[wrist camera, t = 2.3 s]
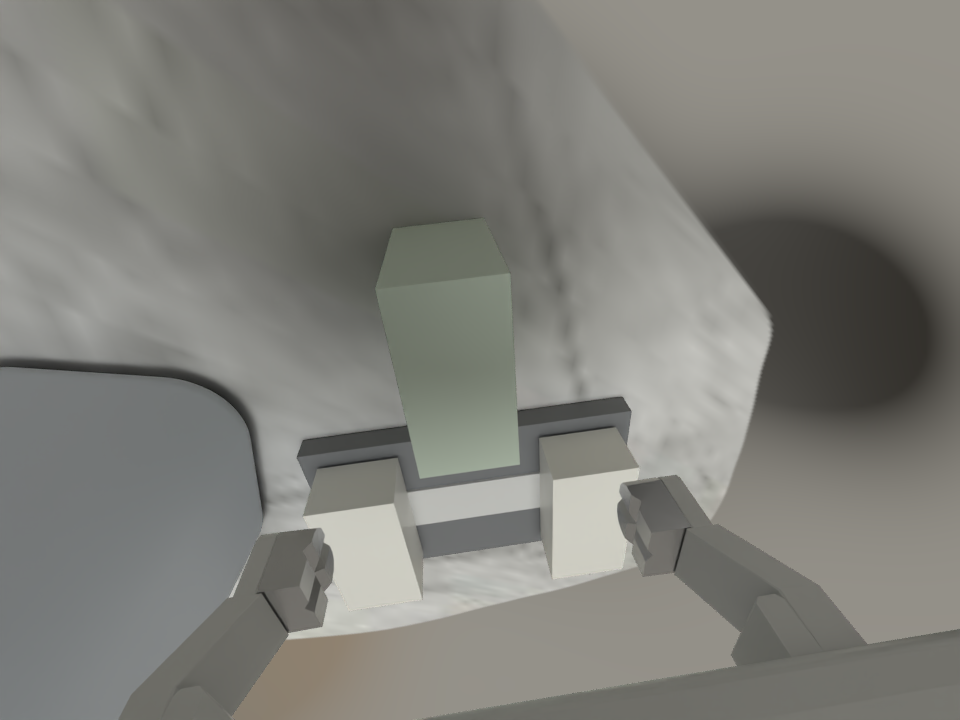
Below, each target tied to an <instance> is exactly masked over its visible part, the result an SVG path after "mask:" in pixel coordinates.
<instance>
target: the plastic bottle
mask: <svg viewBox="0 0 960 720" xmlns="http://www.w3.org/2000/svg"><path fill="white" fill-rule="evenodd" d="M262 522H263V513H262V507H261V501H260V494H259V488H258V482H257V476H256V470H255V463H254V457H253V451H252V445H251V439H250V434H249V431H248V428H247V426H246V424H245V422H244V420H243V419H242V417H241V416H240V414H239V413H238V412H237V411H236V410H235V408H234V407H233V406H232V405H231V404H229V403H228V402H227V401H226V400H225V399H223V398H222V397H221V396H219V395H217V394H216V393H214V392H212V391H210V390H209V389H206V388H204V387H202V386H200V385H197V384H194V383H191V382H188V381H184V380H180V379H175V378H167V377H154V376H139V375H124V374H109V373H94V372H79V371H63V370H48V369H33V368H18V367H0V720H118V719H119V717H120V715H121V713H122V711H123V709H124V707H125V705H126V704H127V702H128V700H129V698H130V696H131V694H132V693H133V692H134V691H135V690H136V689H137V688H138V687H139V686H140V685H141V684H142V683H143V682H144V681H145V680H146V679H147V678H148V677H149V676H150V675H151V674H152V673H153V672H154V671H155V670H156V669H157V668H158V667H159V666H160V665H161V664H162V663H163V662H164V661H165V660H166V659H167V658H168V657H169V656H170V655H171V654H172V653H173V652H174V651H175V650H176V649H177V648H178V647H179V646H180V645H181V644H182V643H183V642H184V641H185V640H186V639H187V638H188V637H189V636H190V635H191V634H192V633H193V632H194V631H195V630H196V629H197V628H198V627H199V626H200V625H201V624H202V623H203V622H204V621H205V620H206V619H207V618H208V617H209V616H210V615H211V614H212V613H213V612H214V611H215V610H216V609H217V608H218V607H219V606H220V605H221V604H222V603H223V602H224V601H225V600H226V599H227V598H229V596H230V594H231V592H232V589H233V587H234V585H235V583H236V581H237V579H238V577H239V575H240V573H241V571H242V569H243V567H244V565H245V563H246V561H247V558H248V556H249V554H250V552H251V550H252V548H253V546H254V544H255V542H256V540H257V538H258V536H259V533H260V531H261V528H262Z"/></svg>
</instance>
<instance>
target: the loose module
mask: <svg viewBox="0 0 960 720" xmlns="http://www.w3.org/2000/svg"><path fill="white" fill-rule="evenodd" d="M375 292H376V296H377V300H378V304H379V309H380V313H381V317H382V321H383V325H384V330H385V334H386V338H387V342H388V346H389V351H390V355H391V359H392V363H393V367H394V372H395V376H396V380H397V384H398V388H399V393H400V397H401V401H402V405H403V410H404V414H405V418H406V422H407V426H408V431H409V435H410V439H411V443H412V447H413V452H414V456H415V460H416V464H417V468H418V473H419V477H420V479H422V478H429V477H436V476H443V475H450V474H457V473H464V472H471V471H478V470H485V469H492V468H499V467H506V466H513V465H520V456H519V436H518V416H517V396H516V376H515V356H514V336H513V316H512V296H511V277H510V271H509V269H508V267H507V265H506V263H505V261H504V259H503V257H502V255H501V253H500V251H499V249H498V247H497V245H496V243H495V240H494V238H493V236H492V234H491V232H490V230H489V228H488V226H487V224H486V222H485V220H484V218H478V219H469V220H461V221H452V222H443V223H435V224H426V225H418V226H409V227H400V228H393V229H392V233H391V236H390V240H389V243H388V247H387V250H386V253H385V257H384V260H383V264H382V267H381V271H380V274H379V277H378V281H377V284H376V288H375Z"/></svg>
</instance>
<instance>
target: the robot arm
mask: <svg viewBox="0 0 960 720" xmlns="http://www.w3.org/2000/svg"><path fill="white" fill-rule="evenodd" d="M619 493H620V495H621V497H622V499H621V500H620V501H619V502H618V505H617V515H618V522H619V525H620V528H621V531H622V533H623V535H624V538H625V539H627V540H628V541H629V542H631V543H632V544H633V548H632V555H633V557H634V559H635V562H636V564H637V566H638V568H639V570H640V572H641V574H642V576H643V577H644V576H652V575H659V574H668V573H675V575H676V576H677V577H678V578H679V579H680V580H681V581H683V582H684V583H685V584H686V585H687V586H688V587H689V588H691V589H692V590H693V591H694V592H695V593H696V594H697V595H699V596H700V597H701V598H702V599H703V600H704V601H705V602H707V603H708V604H709V605H710V606H711V607H712V608H713V609H715V610H716V611H717V612H718V613H719V614H720V615H722V616H723V617H724V618H725V619H726V620H727V621H728V622H729V623H731V624H732V625H733V626H734V627H735V628H736V629H737V630H739V631H740V632H741V633H740V635H739V637H738V640H737V642H736V644H735V646H734V648H733V651H732V654H731V656H732V658H733V659H734V661H735V663H736V665H737V666H735V667H729V668H723V669H717V670H711V671H705V672H699V673H693V674H686V675H680V676H675V677H669V678H662V679H656V680H650V681H644V682H638V683H632V684H626V685H620V686H614V687H609V688H602V689H596V690H591V691H584V692H578V693H572V694H566V695H561V696H554V697H548V698H542V699H537V700H530V701H524V702H518V703H512V704H506V705H500V706H494V707H488V708H482V709H477V710H471V711H464V712H458V713H452V714H446V715H440V716H434V717H428V718H422V719H417V720H960V629H957V630H951V631H945V632H939V633H933V634H927V635H921V636H915V637H909V638H903V639H897V640H891V641H885V642H880V643H873V644H867V643H866V642H865V641H864V639H863V638H862V637H861V636H860V634H859V633H858V632H857V631H856V630H855V628H854V627H853V626H852V625H851V624H850V622H849V621H848V620H847V619H846V617H844V615H843V614H842V613H841V611H840V610H839V609H838V608H837V606H836V605H835V604H834V603H833V602H832V600H831V599H830V598H829V597H828V595H827V594H826V593H825V592H824V591H823V589H822V588H821V587H820V586H819V585H818V584H816V583H814V582H813V581H811V580H809V579H808V578H806V577H805V576H803V575H801V574H800V573H798V572H796V571H795V570H793V569H791V568H789V567H788V566H786V565H785V564H783V563H781V562H780V561H778V560H776V559H775V558H773V557H772V556H770V555H768V554H767V553H765V552H763V551H762V550H760V549H758V548H756V547H755V546H754V545H752V544H750V543H749V542H747V541H745V540H744V539H742V538H740V537H739V536H737V535H735V534H734V533H732V532H730V531H729V530H727V529H726V528H724V527H722V526H720V525H719V524H715V525H713V524H712V523H711V521H710V520H709V519H708V517H707V516H706V514H705V513H704V511H703V510H702V508H701V507H700V506H699V504H698V503H697V501H696V500H695V498H694V497H693V496H692V494H691V493H690V491H689V490H688V488H687V487H686V485H685V484H684V483H683V481H682V480H681V478H680V477H678V476H677V475H671V476H665V477H658V478H656V477H655V478H649V479H643V480H636V481H630V482H624V483H622V484H621V485H620V489H619ZM324 538H325V534H324V532H323V530H322V528H313V529H305V530H296V531H288V532H280V533H272V534H265V535H261V536H260V537H259V538H258V539H257V541H256V542H255V545H254V547H253V549H252V552H251V554H250V557H249V559H248V562H247V564H246V567H245V569H244V571H243V574H242V576H241V579H240V581H239V584H238V586H237V589H236V591H235V593H234V596H233V597H232V598H227V599H226V600H225V601H224V602H223V603H222V604H221V605H220V606H219V607H218V608H217V609H216V610H215V611H214V612H213V613H212V614H211V615H210V616H209V617H208V618H207V619H206V620H205V621H204V622H203V623H202V624H201V625H200V626H199V627H198V628H197V629H196V630H195V631H194V632H193V633H192V634H191V635H190V636H189V637H188V638H187V639H186V640H185V641H184V642H183V643H182V644H181V645H180V646H179V647H178V648H177V649H176V650H175V651H174V652H173V653H172V654H171V655H170V656H169V657H168V658H167V659H166V660H165V661H164V662H163V663H162V664H161V665H160V666H159V667H158V668H157V669H156V670H155V671H154V672H153V673H152V674H151V675H150V676H149V677H148V678H147V679H146V680H145V681H144V682H143V683H142V684H141V685H140V686H139V687H138V688H137V689H136V690H135V691H134V692H133V693H132V694H131V696H130V698H129V700H128V702H127V704H126V705H125V707H124V709H123V711H122V713H121V715H120V717H119V719H118V720H235V719H234V718H233V717H232V715H233V714H234V712H235V711H236V709H237V708H238V707H239V705H240V704H241V702H242V701H243V700H244V698H245V697H246V695H247V694H248V692H249V691H250V690H251V688H252V687H253V685H254V684H255V682H256V681H257V679H258V678H259V677H260V675H261V674H262V672H263V671H264V669H265V668H266V667H267V665H268V664H269V662H270V661H271V659H272V658H273V657H274V655H275V654H276V652H277V651H278V650H279V648H280V647H281V645H282V644H283V642H284V641H285V640H286V638H287V637H288V633H290V632H296V631H301V630H307V629H312V628H317V627H322V626H323V621H324V616H325V612H326V607H327V602H328V599H327V597H326V595H325V593H324V591H325V590H326V589H327V588H328V586H329V585H330V584H331V583H332V578H333V573H334V558H333V552H332V550H331V547H330V546H329V545H327V544H326V543H324Z"/></svg>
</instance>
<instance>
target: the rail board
mask: <svg viewBox="0 0 960 720" xmlns="http://www.w3.org/2000/svg"><path fill="white" fill-rule="evenodd" d="M517 416H518V436H519V456H520V465H513V466H506V467H499V468H492V469H485V470H478V471H471V472H464V473H457V474H450V475H443V476H436V477H429V478H422V479H420V477H419V473H418V468H417V464H416V460H415V456H414V452H413V447H412V443H411V439H410V435H409V431H408V426H405V427H398V428H391V429H383V430H376V431H369V432H361V433H354V434H347V435H340V436H332V437H325V438H318V439H310V440H303V442H302V444H301V447H300V450H299V452H298V455H297V459H298V461H299V464H300V466H301V468H302V470H303V473H304V475H305V477H306V479H307V481H308V484H309V486H310V488H311V491H310V494H309V498H308V501H307V504H306V507H305V511H304V514H303V518H304V520H305V522H306V524H307V526H308V528H309V529H313V528H322V530H323V532H324V534H325V538H324V543H326V544H327V545H329V546H330V547H331V550H332V552H333V558H334V573H333V579H334V581H335V583H336V585H337V587H338V589H339V592H340V594H341V596H342V598H343V600H344V602H345V604H346V606H347V608H348V610H349V611H354V610H360V609H367V608H373V607H380V606H386V605H392V604H399V603H405V602H412V601H418V600H423V558H430V557H436V556H443V555H450V554H456V553H463V552H469V551H476V550H483V549H489V548H496V547H503V546H509V545H516V544H523V543H529V542H536V541H542V542H543V546H544V550H545V554H546V558H547V562H548V565H549V569H550V573H551V577H552V580H553V579H560V578H566V577H573V576H579V575H586V574H592V573H599V572H605V571H611V570H618V569H623V564H624V558H625V552H626V546H627V539H625V538H624V535H623V533H622V531H621V528H620V525H619V522H618V515H617V505H618V502H619V501H620V500H621V499H622V497H621V495H620V493H619V489H620V485H621V484H622V483H624V482H630V481H636V480H638V474H639V466H638V464H637V462H636V461H635V459H634V457H633V456H632V454H631V452H630V450H629V449H628V447H627V440H628V433H629V426H630V419H631V409H630V408H629V406H628V405H627V403H626V402H625V400H624V399H623V397H618V398H610V399H603V400H596V401H588V402H581V403H574V404H566V405H559V406H552V407H544V408H537V409H530V410H522V411H517Z"/></svg>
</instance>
